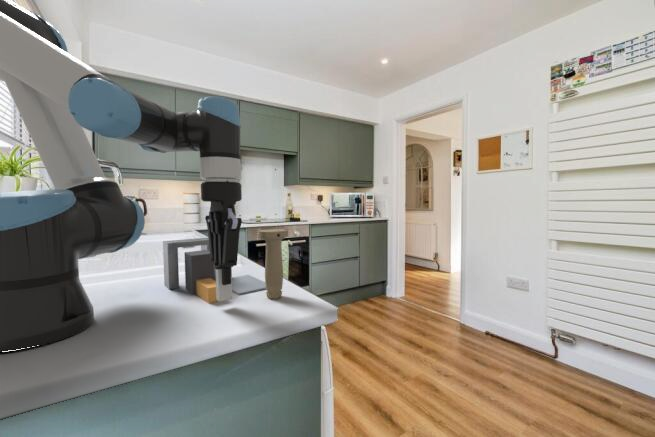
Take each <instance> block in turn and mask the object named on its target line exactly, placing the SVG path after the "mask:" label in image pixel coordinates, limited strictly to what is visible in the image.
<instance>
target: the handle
mask: <svg viewBox="0 0 655 437" xmlns="http://www.w3.org/2000/svg"><path fill="white" fill-rule="evenodd" d="M288 236H289V230H288V229H286V228H274V229H260V230H258V237H259V238H260V239H262V240H264V241H265V259H264V260H265V261H264V262H265V263H264V264H265V265H264V279H265V281H264V282H265V283H266V289H265V290H266V294H265V295H266V297H267V299H271V300H273V299H274V300H277V299H279V298H281V297H282V295H283V290H282V289H283V284H284V283H283V282H284V268H283V267H284V266H283V264H284V263H283V253H282V252H283V251H282V241H283V239H285V238H287V237H288Z"/></svg>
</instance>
